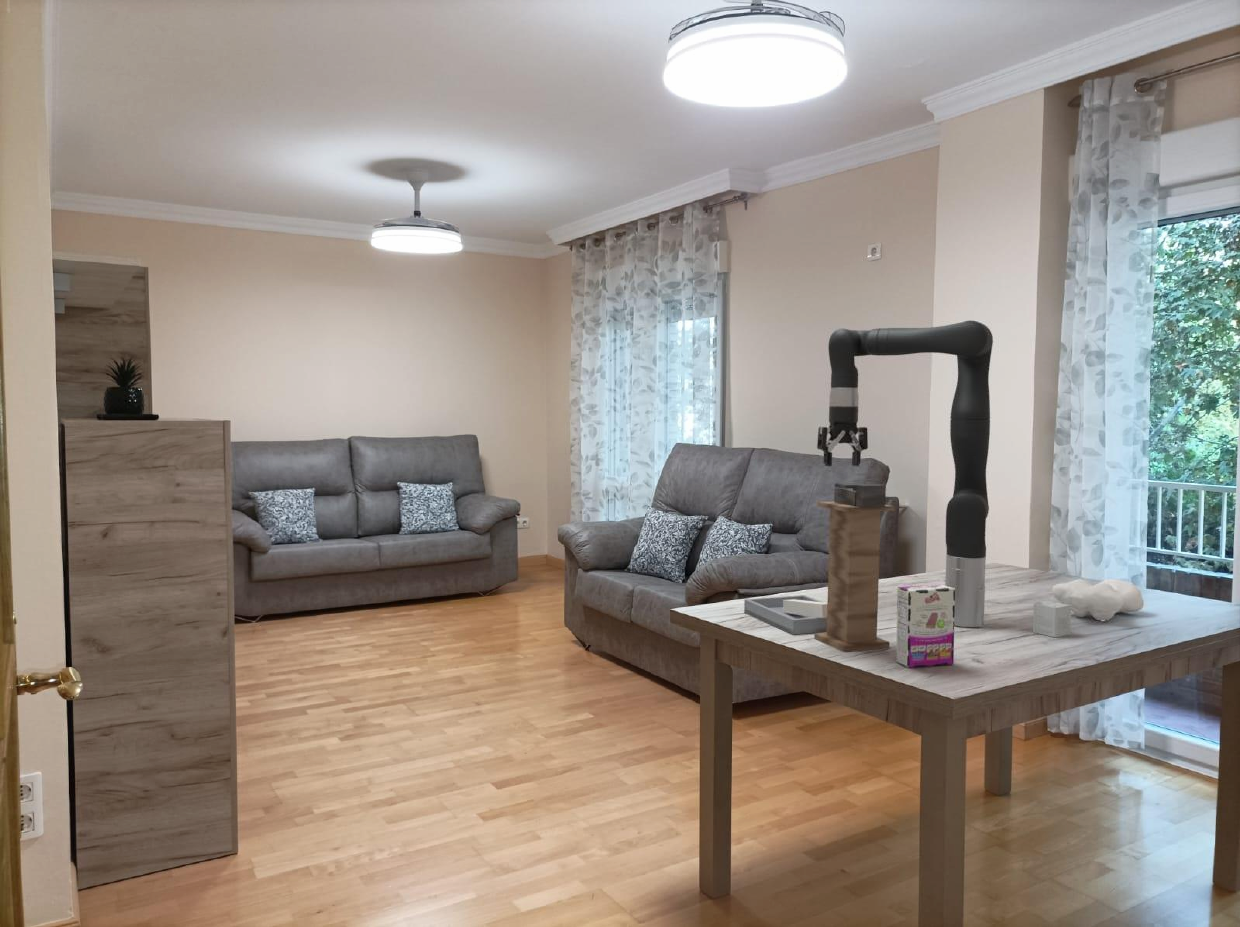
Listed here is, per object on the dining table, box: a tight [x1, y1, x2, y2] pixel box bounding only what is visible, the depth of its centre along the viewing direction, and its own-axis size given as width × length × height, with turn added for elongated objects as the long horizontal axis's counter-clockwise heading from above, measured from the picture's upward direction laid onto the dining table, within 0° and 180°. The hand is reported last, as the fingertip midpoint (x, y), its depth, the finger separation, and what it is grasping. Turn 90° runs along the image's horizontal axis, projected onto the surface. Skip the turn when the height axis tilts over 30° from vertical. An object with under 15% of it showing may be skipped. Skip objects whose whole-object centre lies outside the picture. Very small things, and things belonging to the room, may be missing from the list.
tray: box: [743, 594, 827, 636], centre depth 231 cm, size 24×18×4 cm
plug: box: [783, 599, 827, 618], centre depth 227 cm, size 19×3×3 cm, turn 19°
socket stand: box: [813, 482, 895, 653], centre depth 209 cm, size 13×12×37 cm
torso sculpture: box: [1051, 578, 1145, 621], centre depth 239 cm, size 18×10×25 cm
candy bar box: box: [895, 584, 955, 669], centre depth 194 cm, size 11×5×16 cm, turn 105°
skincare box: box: [1032, 600, 1072, 638], centre depth 221 cm, size 6×6×7 cm
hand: (842, 466), depth 244 cm, fingers open, 8 cm apart
